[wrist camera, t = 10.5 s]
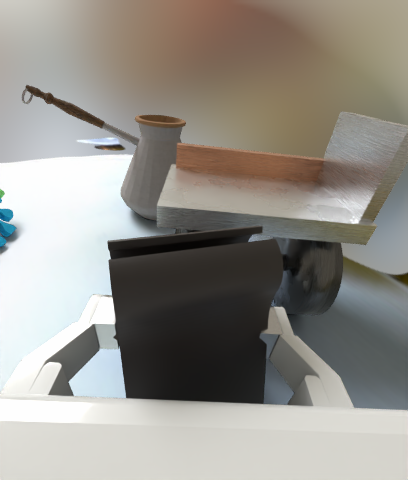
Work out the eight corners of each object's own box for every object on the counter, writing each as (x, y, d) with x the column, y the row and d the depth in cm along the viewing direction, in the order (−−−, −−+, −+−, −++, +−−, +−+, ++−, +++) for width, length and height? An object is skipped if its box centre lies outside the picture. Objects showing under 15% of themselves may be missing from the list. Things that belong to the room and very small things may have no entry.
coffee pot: (193, 195, 43) (201, 100, 35) (200, 229, 34) (213, 110, 26) (66, 189, 40) (42, 82, 32) (35, 224, 31) (-11, 86, 22)
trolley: (154, 327, 20) (150, 100, 11) (168, 252, 29) (173, 90, 20) (326, 338, 21) (457, 137, 12) (290, 262, 30) (349, 112, 21)
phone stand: (257, 469, 13) (366, 327, 6) (141, 526, 11) (112, 406, 4) (202, 327, 20) (224, 188, 13) (125, 346, 18) (104, 192, 11)
